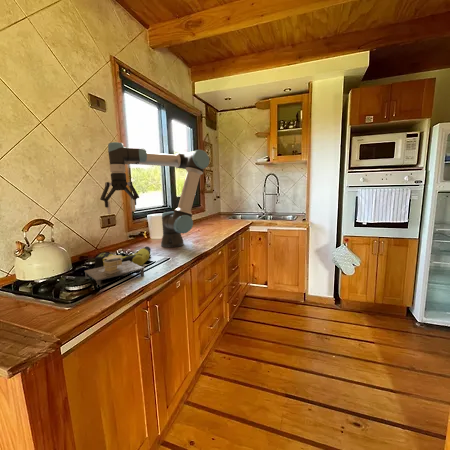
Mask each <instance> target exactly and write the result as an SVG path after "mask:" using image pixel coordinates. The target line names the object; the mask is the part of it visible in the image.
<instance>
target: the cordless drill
mask: <svg viewBox="0 0 450 450" xmlns="http://www.w3.org/2000/svg"><path fill="white" fill-rule="evenodd" d="M112 255H114V254H112V253H110V252H102V253H99V254H98V255H97V256H95V258H94V265H95V267H94V268H99V267H103V266H104V262H103V261H105V260H108V259H103V258H106V257H109V256H112ZM150 255H151V247H150V246H145V247H143V248H140V249H139V250H137V251H136V252H135V253H133V254H129V255H125V256H122V257H119V258H122V262H125V261H131V262H133V263H135V264H137V265H139V266H142V267H143V265H144V264H145V263H146V262H148V260H149V258H150Z"/></svg>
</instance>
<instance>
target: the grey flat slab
mask: <svg viewBox="0 0 450 450" xmlns="http://www.w3.org/2000/svg"><path fill="white" fill-rule="evenodd" d="M122 263H123V264H122V266H127V267H129V268H126V269H124V270H121V271H118V272H115V273H112V274H108V273H104V272H100V271H99V270H102V269H105V267H104V266H103V267H99V268H96V267H94V268H89V269H86V270H84V272H83V273H85V278H86V277H90V278H92V279H93V280H95V283H97V285H99V286H100V287H101V288H102V284H101V283H102V282H101V281H103V280H106V279H107V280H108V279H111V278H114V277H119V276H123V275H126V274H131V273H134V272H139V276H140V277H145V267H144V266H143V265H142V266H139V265H137V264H135V263H133V262H131V261H125V262H122ZM97 285H96V286H97Z"/></svg>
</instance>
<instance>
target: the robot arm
mask: <svg viewBox="0 0 450 450" xmlns="http://www.w3.org/2000/svg"><path fill="white" fill-rule="evenodd" d="M107 150H108V152H107V153H108V161H109V171H110V180H111V181H110V182H109V181H107V182H105V183H104V189H103V191H102V193H101V195H100V199H99V200H100V201H104V202H103V203H104V207H105V208H106V209H107V210H106V211H107V214H112V211H111V204H110V203H111V201H110V199H111V197H112V196H113V194H114V193H115V192H116V191H125V193H126V194H127V195H128V196H129V197H130V198H131V199H130V201H131V212H136V206H137V199H140V196H139V194H138V192H137V190H136V188H135V187H134V184H133V181H127V174H126V171H127V170H126V165H128V166H129V165H140V166H141V165H145V166H161V167H175V168H176V169H181V170H182V169H184V170H186V175H185V179H184V183H183V186H182V190H181V194H180V198H179V202H178V206H177V208H175V209H174V211H167V212H163V213H162V214H161V221H162V222H161V223H162V224H161V225H162V237H161V242H160V246H161V248H170V249H171V248H179V247H182V246H183V245H184V240H183V236H182V234H187V233H188V232H190V231H191V230H192V229H193V226H194V221H193V218H192V217H193V213H192V208H193V204H194V199H195V197H196V193H197V189H198V185H199V181H200V177H201V175H203V174H204V172H205V169H206V168H207V167H208V166H209V165H210V157H209V155H208V153H207V152H206V151H205V150H203V149H195V150H193V151H192V150H191V151H188V152H184V153H175V154H170V153H161V152H160V153H157V152H148V151H147V150H146V149H145V148H140V147H127V146H124V143H123V142H119V141H113V142H112V141H111V142H109V143H108V144H107ZM127 186H128V187H129V188H128V187H127ZM110 187H111V188H110ZM109 189H110V191H109Z"/></svg>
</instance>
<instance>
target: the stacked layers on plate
mask: <svg viewBox="0 0 450 450" xmlns="http://www.w3.org/2000/svg"><path fill="white" fill-rule="evenodd" d="M119 257H123V255H119V254H118V255H117V254H113V255H112V256H109V257H106V258H103V259H108V260H105V261H103V262H104V267H105V269H102V270H99V271H100V272H104V273H108V274H112V273H115V272H118V271H121V270H124V269H126V268H129V267H127V266H122V264H123V263H122V258H119Z"/></svg>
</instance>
